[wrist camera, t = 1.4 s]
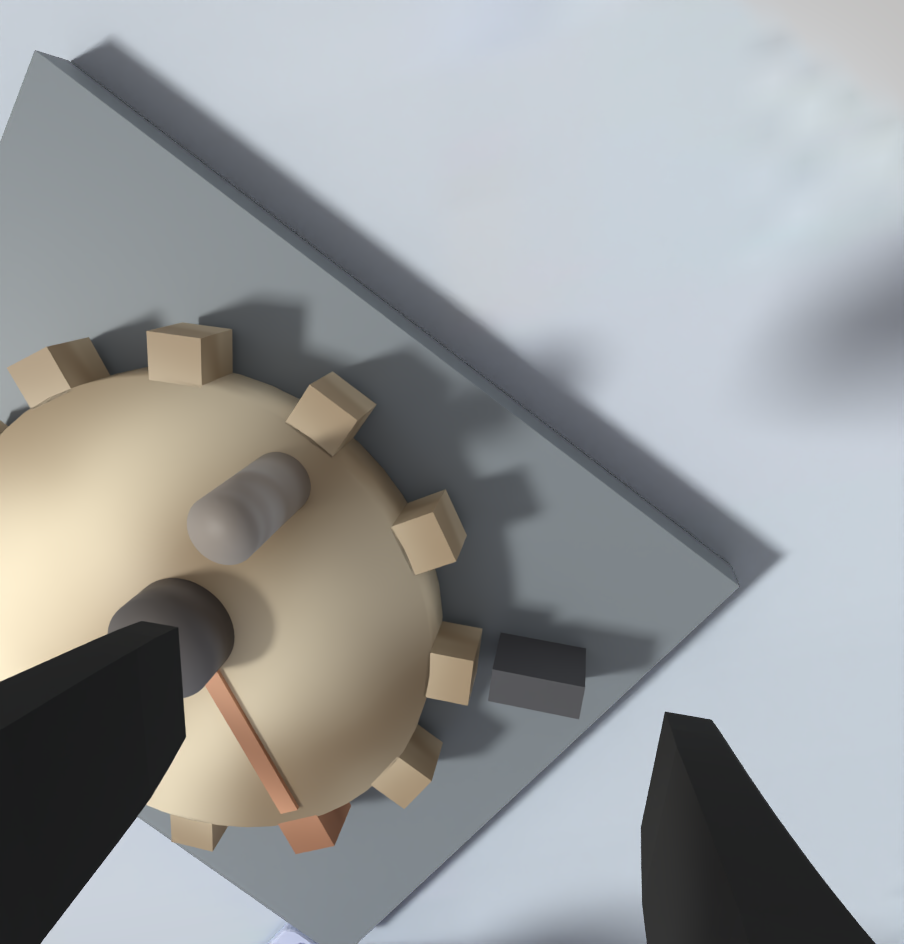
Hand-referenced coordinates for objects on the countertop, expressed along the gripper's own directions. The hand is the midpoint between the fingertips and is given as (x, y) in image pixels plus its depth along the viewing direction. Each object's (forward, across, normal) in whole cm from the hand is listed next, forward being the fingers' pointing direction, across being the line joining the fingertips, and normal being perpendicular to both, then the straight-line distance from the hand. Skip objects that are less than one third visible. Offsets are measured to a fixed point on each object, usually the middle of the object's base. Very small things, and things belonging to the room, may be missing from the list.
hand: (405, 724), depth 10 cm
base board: (+10, +8, +4) cm, 14 cm away
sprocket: (+9, +8, +4) cm, 13 cm away
